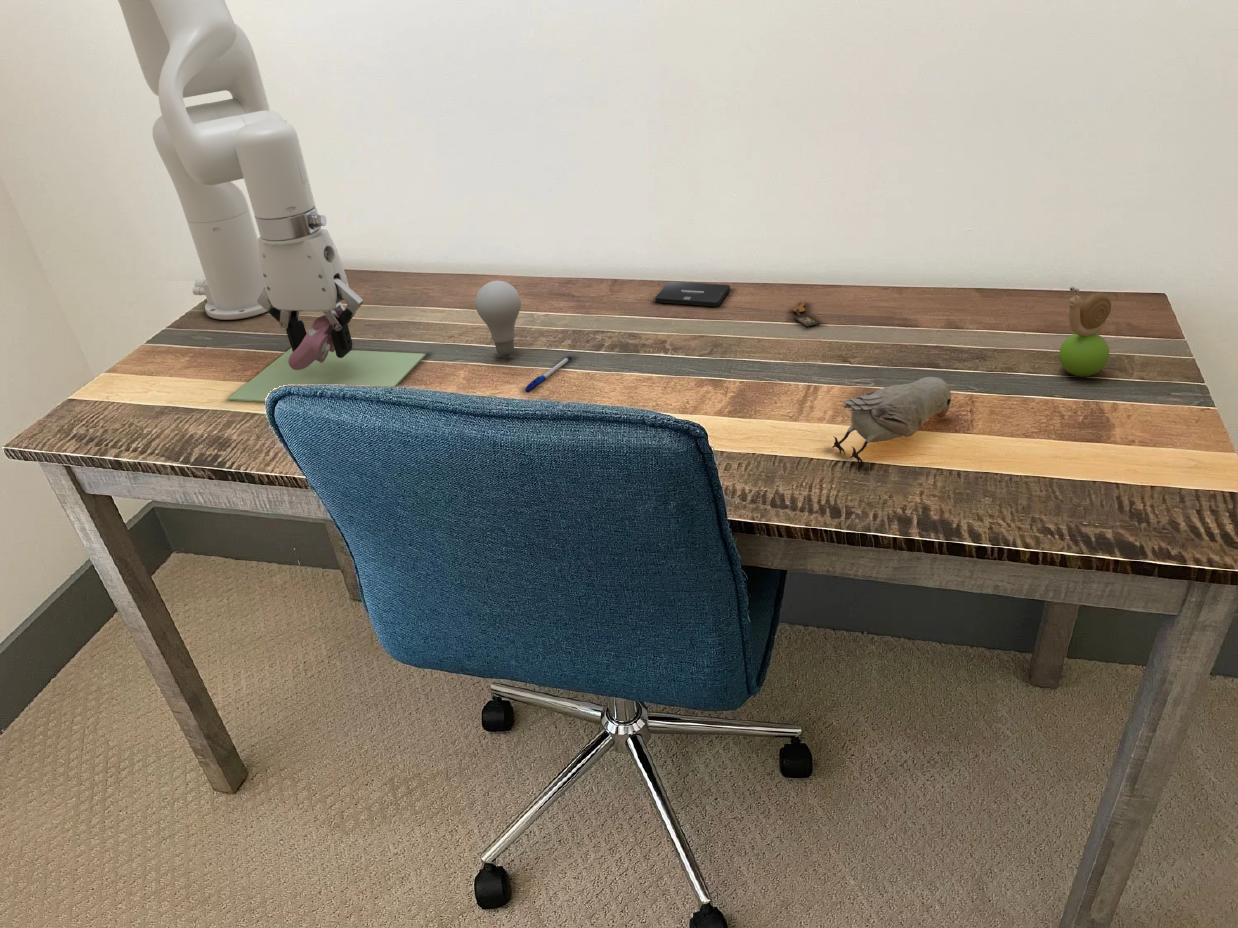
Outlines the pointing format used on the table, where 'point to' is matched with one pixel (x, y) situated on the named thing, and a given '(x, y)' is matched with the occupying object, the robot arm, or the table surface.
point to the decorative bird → (896, 411)
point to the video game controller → (313, 345)
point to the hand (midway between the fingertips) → (323, 351)
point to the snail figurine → (1086, 335)
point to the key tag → (804, 316)
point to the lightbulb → (499, 313)
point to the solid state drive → (692, 293)
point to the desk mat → (332, 372)
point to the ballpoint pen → (546, 375)
